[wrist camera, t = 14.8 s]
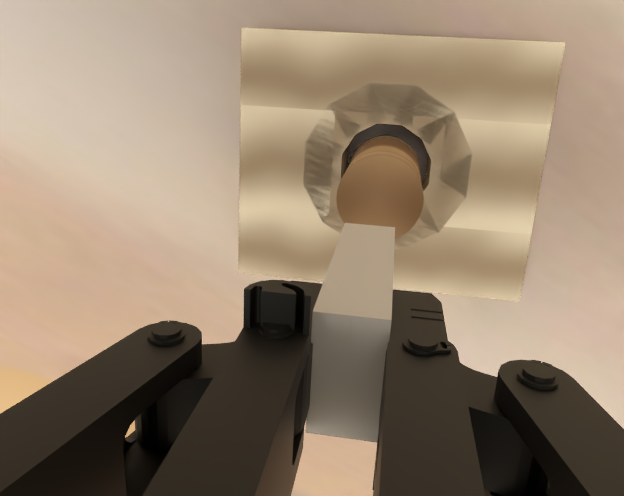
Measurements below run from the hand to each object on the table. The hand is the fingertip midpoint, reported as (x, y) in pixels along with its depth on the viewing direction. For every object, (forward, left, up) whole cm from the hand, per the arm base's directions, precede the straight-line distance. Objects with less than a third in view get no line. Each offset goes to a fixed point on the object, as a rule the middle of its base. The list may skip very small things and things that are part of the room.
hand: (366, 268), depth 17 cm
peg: (0, 0, -24) cm, 24 cm away
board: (0, 0, -24) cm, 24 cm away
